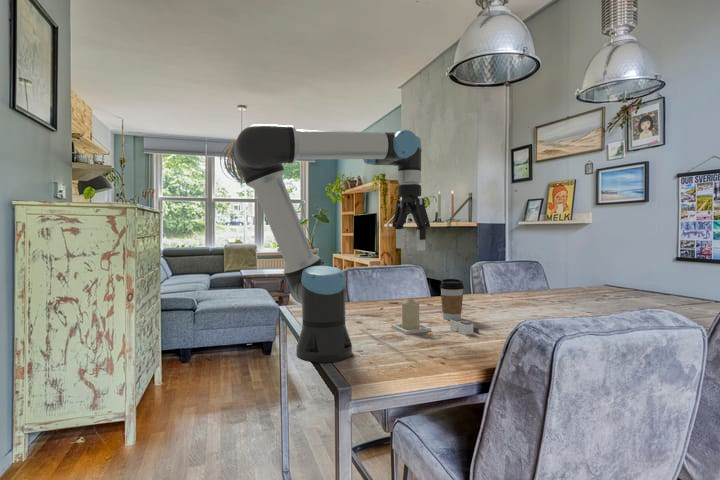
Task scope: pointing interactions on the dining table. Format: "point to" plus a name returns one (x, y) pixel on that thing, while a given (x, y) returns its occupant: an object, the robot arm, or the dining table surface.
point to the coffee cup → (451, 298)
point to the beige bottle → (410, 314)
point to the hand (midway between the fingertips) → (410, 249)
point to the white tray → (423, 329)
